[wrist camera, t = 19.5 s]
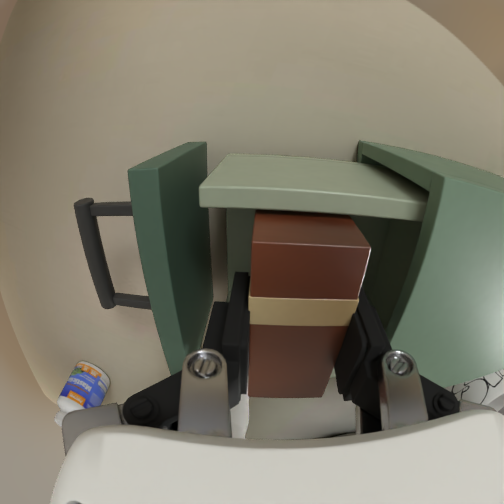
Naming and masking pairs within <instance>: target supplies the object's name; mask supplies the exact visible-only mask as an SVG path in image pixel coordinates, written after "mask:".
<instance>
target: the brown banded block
mask: <svg viewBox="0 0 504 504" xmlns="http://www.w3.org/2000/svg"><path fill="white" fill-rule="evenodd" d="M370 252H371V246H370V245H369V243H368V242H367V240H366V239H365V237H364V236H363V234H362V233H361V231H360V230H359V228H358V227H357V226H356V224H355V223H354V221H353V220H352V218H351V217H350V216H349V215H342V214H329V213H314V212H298V211H280V210H258V209H257V210H255V216H254V224H253V233H252V241H251V276H250V286H249V296H248V311H250V340H249V370H248V397H266V398H315V397H322V395H323V393H324V391H325V388H326V386H327V384H328V381H329V379H330V376H331V374H332V371H333V369H334V365H335V362H336V359H337V357H338V354H339V351H340V349H341V346H342V343H343V340H344V337H345V334H346V332H347V329H348V326H349V324H350V321H351V317H352V314H353V313H355V312H356V308H357V305H358V302H359V298H358V296H359V293H360V289H361V286H362V282H363V279H364V275H365V271H366V267H367V264H368V260H369V256H370Z"/></svg>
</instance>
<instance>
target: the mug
mask: <svg viewBox="0 0 504 504" xmlns="http://www.w3.org/2000/svg"><path fill="white" fill-rule="evenodd" d="M445 389H446V390H448V391H450V392H451V393H453V394H454V395H455V396H456V398H457V400H458V401H459V400H460V399H463V400H467V401H470V402H474V403H478V404H482V405H486V406H489V407H492V408H494V409H495V410H496V411H497V412H498V411H499V410H500V409H501V408H503V407H504V369H502V370H500V371H497V372H494V373H492V374H489V375H486V376H483V377H480V378H477V379H474V380H470V381H467V382H464V383H460V384H457V385H453V386H449V387H445Z"/></svg>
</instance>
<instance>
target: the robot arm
mask: <svg viewBox="0 0 504 504" xmlns="http://www.w3.org/2000/svg"><path fill="white" fill-rule="evenodd" d="M249 286H250V276H248V272H237V271H235V275H234V280H233V285H232V290H231V296H230V301H229V302H216V301H215V302H214V305H213V308H212V312H211V316H210V320H209V324H208V328H207V332H206V336H205V340H204V344H203V348H202V349H198V350H195V351H192V352H191V353H190V354H188V355H187V356H186V358H185V359H184V362H183V366H182V370H181V371H179V372H177V373H175V374H174V375H172V376H170V377H168V378H166V379H164V380H162V381H160V382H158V383H156V384H154V385H152V386H150V387H148V388H146V389H144V390H142V391H140V392H138V393H136V394H134V395H132V396H131V397H129V398H128V399H127V400H126V402H125V403H124V404H120V405H118V404H117V402H116V403H112V404H107V405H102V406H97V407H91V408H86V409H80V410H74V411H71V412H69V413H68V414H66V415H65V416H64V418H63V420H62V434H63V442H64V448H65V454H66V458H65V460H64V462H63V464H62V467H61V469H60V472H59V475H58V478H57V481H56V484H55V486H54V490H53V494H52V497H51V501H50V504H504V415H502V414H501V413H498V412H497V411H496V410H495V409H494V408H492V407H489V406H486V405H482V404H478V403H474V402H470V401H467V400H463V399H460V400H459V401H458V400H457V398H456V396H455V395H454V394H453V393H451V392H450V391H448V390H446V389H445V388H443V387H441V386H439V385H438V384H436V383H434V382H432V381H431V380H429V379H427V378H425V377H424V376H422V375H420V374H419V372H418V367H417V364H416V361H415V359H414V358H413V357H412V356H411V355H410V354H409V353H407V352H405V351H403V350H398V349H394V350H392V347H391V345H390V342H389V340H388V337H387V335H386V332H385V330H384V328H383V325H382V323H381V320H380V318H379V316H378V313H377V311H376V309H375V307H373V306H370V303H369V301H368V299H367V297H366V294H365V292H364V290H363V287H362V286H361V289H360V293H359V296H358V298H359V302H358V305H357V308H356V312H355V313H353V314H352V317H351V321H350V324H349V326H348V329H347V332H346V334H345V337H344V340H343V343H342V346H341V349H340V351H339V354H338V357H337V359H336V362H335V365H334V370H335V375H336V381H337V387H338V392H339V394H343V399H344V401H349V400H352V402H353V403H354V404H356V408H355V412H356V435H352V436H343V437H333V438H320V439H298V440H263V439H242V438H232V427H231V412H230V409H232V408H233V407H235V406H236V405H238V404H239V401H241V394H247V383H248V370H249V340H250V311H248V296H249Z"/></svg>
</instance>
